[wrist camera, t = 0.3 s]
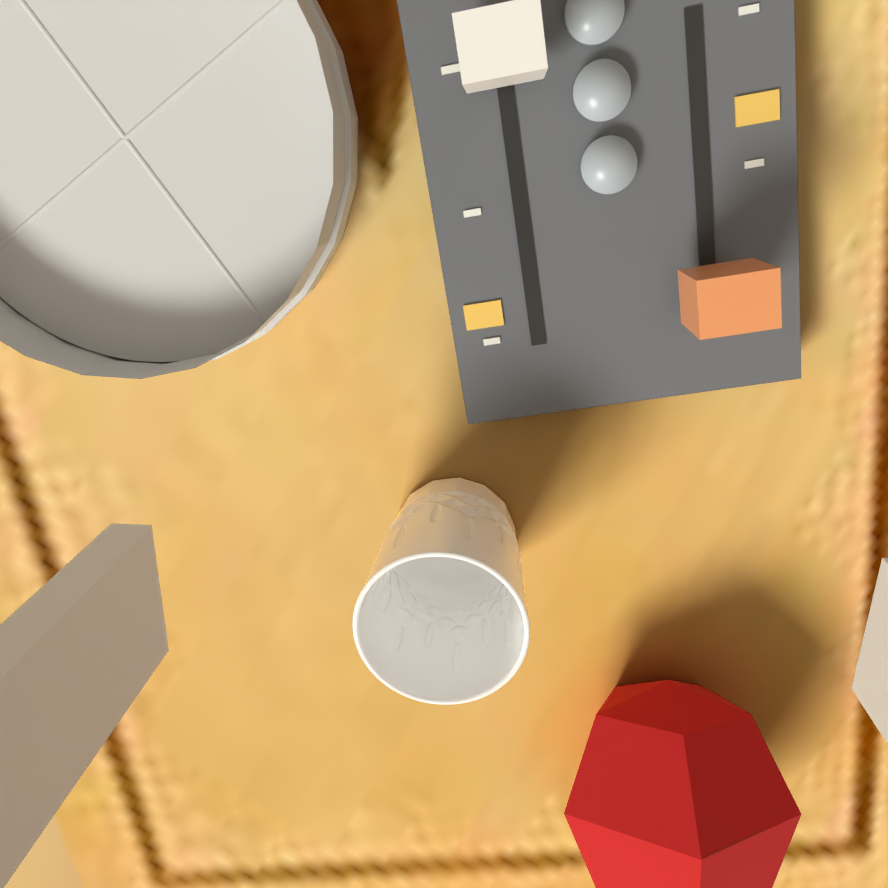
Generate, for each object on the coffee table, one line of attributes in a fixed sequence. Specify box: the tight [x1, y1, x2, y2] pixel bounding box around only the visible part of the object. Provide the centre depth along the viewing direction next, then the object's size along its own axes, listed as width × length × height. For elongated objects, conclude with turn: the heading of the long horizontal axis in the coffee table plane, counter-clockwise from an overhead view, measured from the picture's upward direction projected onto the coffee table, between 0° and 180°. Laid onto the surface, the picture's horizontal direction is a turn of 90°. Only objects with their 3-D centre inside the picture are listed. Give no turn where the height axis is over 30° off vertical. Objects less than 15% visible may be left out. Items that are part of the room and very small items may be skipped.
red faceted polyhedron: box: [564, 680, 801, 888], centre depth 42 cm, size 12×12×15 cm
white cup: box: [353, 477, 530, 705], centre depth 38 cm, size 8×8×10 cm
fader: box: [677, 258, 782, 340], centre depth 33 cm, size 2×3×5 cm
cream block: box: [452, 0, 548, 94], centre depth 30 cm, size 2×3×5 cm
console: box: [397, 0, 801, 424], centre depth 35 cm, size 20×16×3 cm
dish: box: [0, 0, 358, 379], centre depth 35 cm, size 22×22×5 cm
